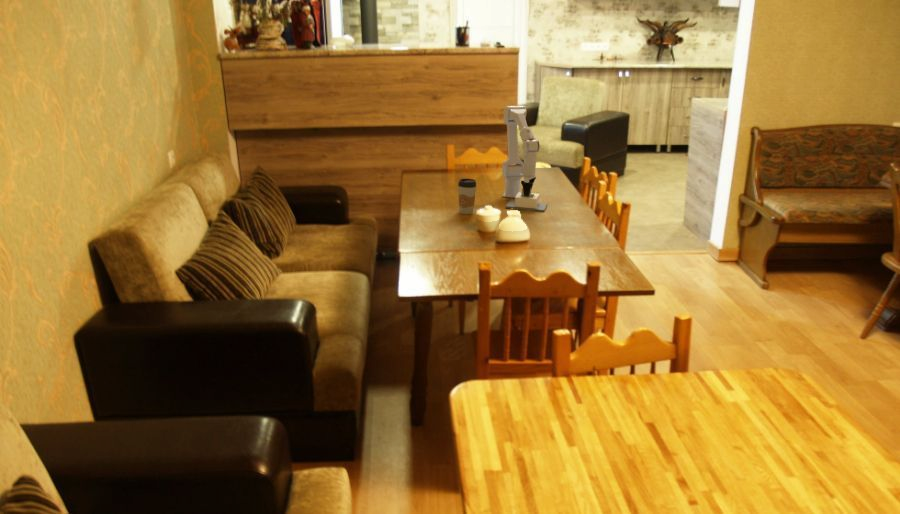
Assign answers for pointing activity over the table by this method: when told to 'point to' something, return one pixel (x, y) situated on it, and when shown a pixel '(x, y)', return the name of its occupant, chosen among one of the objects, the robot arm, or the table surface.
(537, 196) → the well
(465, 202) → the coffee cup
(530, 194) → the peg
